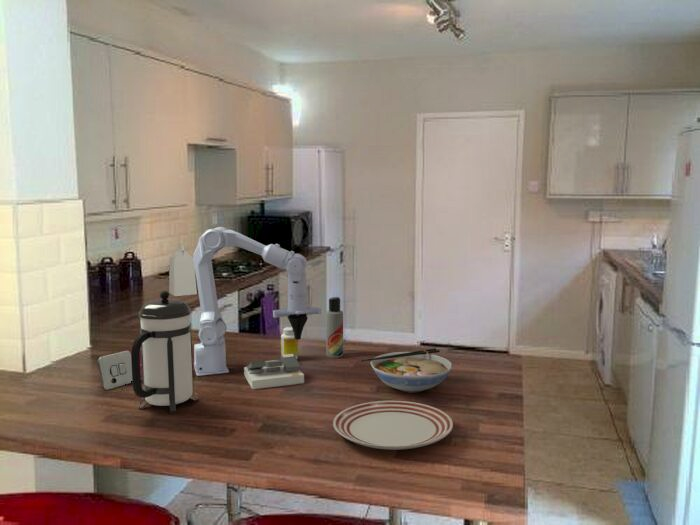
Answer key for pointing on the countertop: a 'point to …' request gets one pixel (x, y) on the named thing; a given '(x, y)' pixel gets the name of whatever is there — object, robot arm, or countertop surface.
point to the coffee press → (164, 353)
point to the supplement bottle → (289, 342)
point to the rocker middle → (273, 363)
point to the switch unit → (272, 377)
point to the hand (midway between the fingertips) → (297, 338)
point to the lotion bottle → (334, 329)
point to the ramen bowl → (411, 369)
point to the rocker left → (256, 365)
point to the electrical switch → (115, 369)
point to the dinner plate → (393, 424)
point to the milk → (182, 273)
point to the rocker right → (290, 362)
